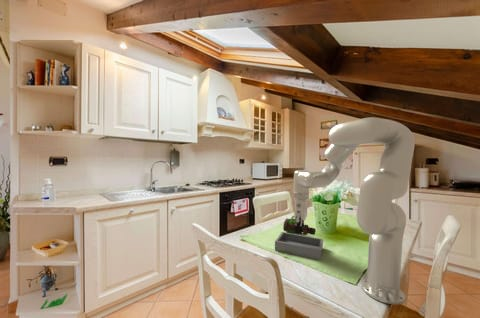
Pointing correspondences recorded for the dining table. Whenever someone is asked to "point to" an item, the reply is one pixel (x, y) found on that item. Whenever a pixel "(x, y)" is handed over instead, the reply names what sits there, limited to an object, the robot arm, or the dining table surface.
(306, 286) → the dining table surface
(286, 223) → the bolt
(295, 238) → the tray
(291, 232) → the bell pepper
